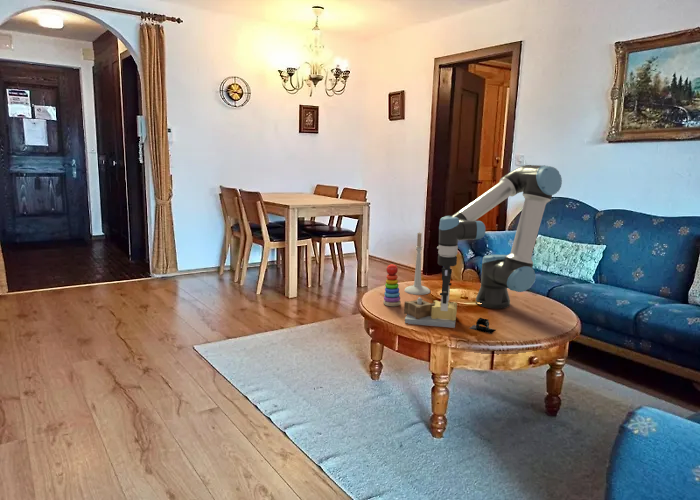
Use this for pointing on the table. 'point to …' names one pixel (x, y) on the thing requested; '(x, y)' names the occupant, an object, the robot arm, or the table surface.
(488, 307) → the robot arm
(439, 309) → the ochre cog
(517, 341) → the table surface
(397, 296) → the stacking toy
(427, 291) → the candlestick
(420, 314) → the walnut cog
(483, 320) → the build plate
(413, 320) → the board
